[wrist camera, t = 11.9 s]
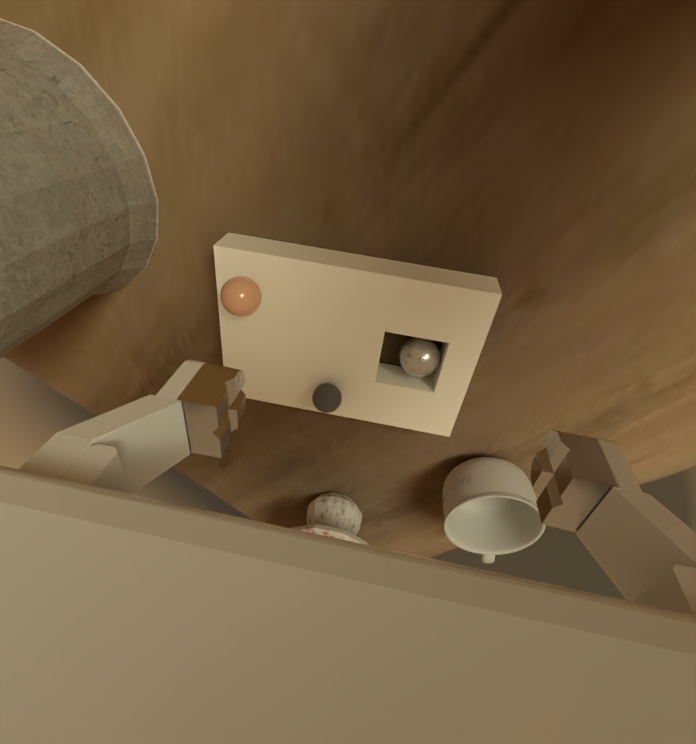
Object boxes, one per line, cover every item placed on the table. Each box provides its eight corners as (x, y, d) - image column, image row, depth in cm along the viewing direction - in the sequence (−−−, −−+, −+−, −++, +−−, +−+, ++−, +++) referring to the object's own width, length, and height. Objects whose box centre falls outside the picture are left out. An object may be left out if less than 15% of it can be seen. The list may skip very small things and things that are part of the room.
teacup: (451, 436, 50) (454, 491, 43) (544, 451, 49) (562, 509, 42) (430, 507, 58) (430, 561, 52) (509, 520, 57) (519, 577, 51)
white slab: (496, 277, 38) (502, 294, 35) (448, 415, 48) (449, 436, 45) (228, 232, 39) (213, 245, 36) (237, 375, 49) (225, 394, 46)
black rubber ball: (345, 380, 43) (340, 399, 40) (342, 402, 44) (337, 421, 42) (316, 375, 43) (310, 393, 40) (314, 397, 45) (308, 415, 42)
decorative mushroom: (331, 542, 67) (311, 646, 55) (271, 493, 62) (233, 596, 50) (403, 518, 60) (397, 629, 48) (342, 460, 55) (318, 570, 43)
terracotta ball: (266, 273, 37) (253, 290, 34) (266, 308, 39) (254, 326, 36) (228, 266, 37) (212, 282, 34) (230, 301, 39) (215, 319, 36)
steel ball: (432, 327, 42) (452, 350, 39) (423, 358, 45) (441, 382, 42) (396, 330, 41) (414, 354, 38) (389, 362, 43) (406, 387, 41)
